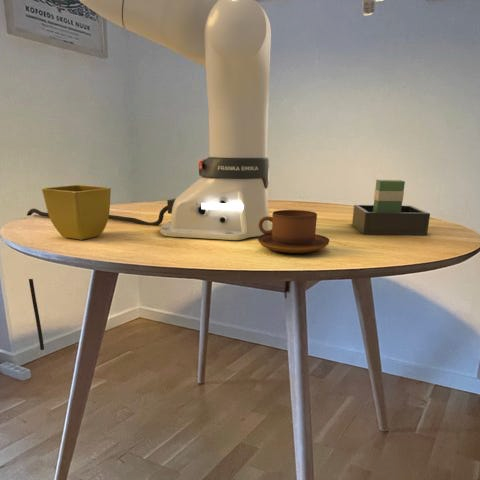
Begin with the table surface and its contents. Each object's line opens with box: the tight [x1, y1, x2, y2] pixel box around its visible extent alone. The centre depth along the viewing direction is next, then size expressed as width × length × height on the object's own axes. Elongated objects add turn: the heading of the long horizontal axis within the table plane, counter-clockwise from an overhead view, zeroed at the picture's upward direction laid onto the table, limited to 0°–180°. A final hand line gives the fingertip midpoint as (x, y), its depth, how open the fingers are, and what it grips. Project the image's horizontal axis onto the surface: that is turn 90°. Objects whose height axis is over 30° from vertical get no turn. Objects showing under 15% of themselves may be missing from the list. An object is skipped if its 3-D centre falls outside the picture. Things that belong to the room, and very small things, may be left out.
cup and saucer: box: [257, 209, 330, 254], centre depth 79 cm, size 12×12×6 cm
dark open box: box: [351, 204, 431, 236], centre depth 98 cm, size 13×12×4 cm
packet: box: [373, 179, 406, 213], centre depth 99 cm, size 5×4×9 cm
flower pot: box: [41, 184, 112, 241], centre depth 86 cm, size 9×9×9 cm
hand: (374, 7), depth 80 cm, fingers open, 8 cm apart
